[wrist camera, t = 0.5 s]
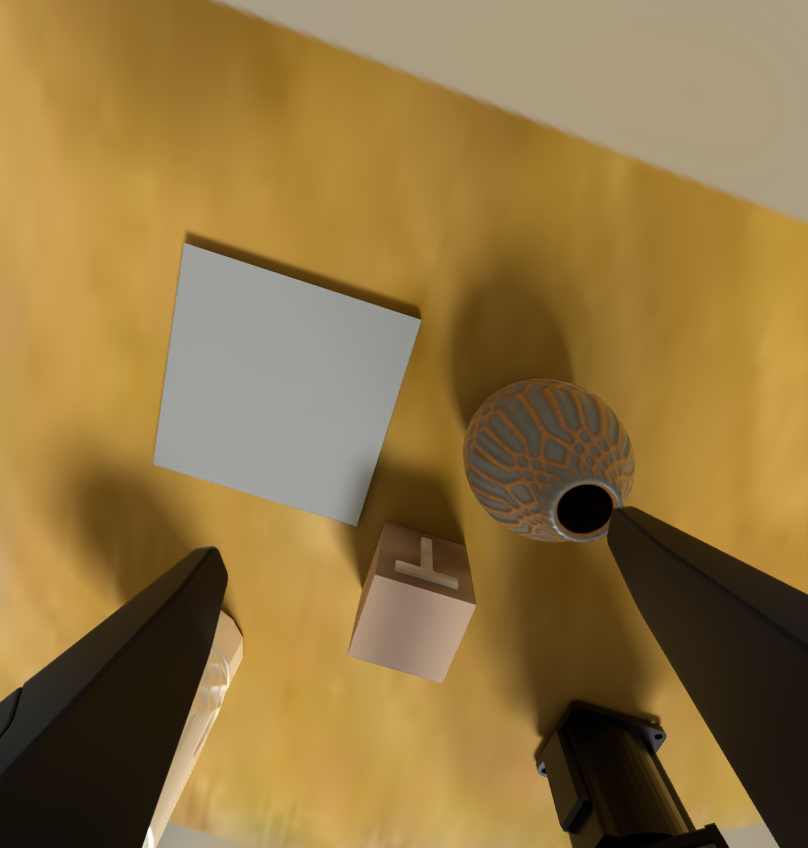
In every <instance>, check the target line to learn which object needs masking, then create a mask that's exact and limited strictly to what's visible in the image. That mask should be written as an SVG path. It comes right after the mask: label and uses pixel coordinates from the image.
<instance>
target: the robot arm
mask: <svg viewBox="0 0 808 848" xmlns="http://www.w3.org/2000/svg"><path fill="white" fill-rule="evenodd" d="M607 541H608V545H609V548H610V550H611V552H612V554H613V556H614V558H615V560H616V563H617V565H618V567H619V569H620V571H621V573H622V576H623V578H624V580H625V582H626V584H627V586H628V588H629V591H630V593H631V595H632V597H633V599H634V601H635V603H636V605H637V607H638V609H639V611H640V613H641V614H642V616H643V618H644V620H645V622H646V623H647V625H648V627H649V628H650V630H651V632H652V633H653V635H654V637H655V638H656V640H657V642H658V643H659V645H660V647H661V648H662V650H663V652H664V654H665V655H666V657H667V659H668V660H669V662H670V664H671V665H672V667H673V669H674V670H675V672H676V674H677V675H678V677H679V679H680V681H681V682H682V684H683V686H684V687H685V689H686V691H687V692H688V694H689V696H690V697H691V699H692V701H693V702H694V704H695V706H696V708H697V709H698V711H699V713H700V714H701V716H702V718H703V719H704V721H705V723H706V724H707V726H708V728H709V729H710V731H711V733H712V734H713V736H714V738H715V740H716V741H717V743H718V745H719V746H720V748H721V750H722V751H723V753H724V755H725V756H726V758H727V760H728V761H729V763H730V765H731V767H732V768H733V770H734V772H735V773H736V775H737V777H738V778H739V780H740V782H741V783H742V785H743V787H744V788H745V790H746V792H747V794H748V795H749V797H750V799H751V800H752V802H753V804H754V805H755V807H756V809H757V810H758V812H759V814H760V815H761V817H762V819H763V820H764V822H765V824H766V826H767V827H768V828H769V830H770V832H771V834H772V836H773V837H774V839H775V841H776V842H777V844H778V846H779V847H780V848H808V594H806V593H804V592H802V591H800V590H798V589H796V588H794V587H792V586H790V585H788V584H786V583H784V582H782V581H780V580H778V579H776V578H774V577H772V576H770V575H768V574H766V573H764V572H762V571H760V570H758V569H756V568H754V567H752V566H750V565H748V564H746V563H744V562H742V561H740V560H739V559H737V558H735V557H733V556H731V555H729V554H727V553H725V552H723V551H721V550H719V549H717V548H715V547H713V546H711V545H709V544H707V543H705V542H703V541H701V540H699V539H697V538H695V537H693V536H691V535H689V534H687V533H685V532H683V531H681V530H679V529H677V528H675V527H673V526H671V525H669V524H667V523H665V522H663V521H661V520H659V519H657V518H655V517H653V516H651V515H649V514H647V513H645V512H643V511H641V510H639V509H637V508H635V507H632V506H627V507H617V508H614V509H613V511H612V513H611V517H610V522H609V528H608V533H607ZM227 582H228V574H227V570H226V568H225V565H224V562H223V560H222V557H221V555H220V552H219V550H218V549H217V548H216V547H214V546H211V547H200V548H197V549H195V550H193V551H192V552H191V553H190V554H188V555H187V556H186V557H184V558H183V559H182V560H181V561H179V562H178V563H177V564H176V565H174V566H173V567H172V568H170V569H169V570H168V571H167V572H165V573H164V574H163V575H162V576H160V577H159V578H158V579H156V580H155V581H154V582H153V583H151V584H150V585H149V586H148V587H146V588H145V589H144V590H142V591H141V592H140V593H139V594H137V595H136V596H135V597H133V598H132V599H131V600H130V601H128V602H127V603H126V604H125V605H123V606H122V607H121V608H119V609H118V610H117V611H116V612H114V613H113V614H112V615H111V616H109V617H108V618H107V619H105V620H104V621H103V622H102V623H100V624H99V625H98V626H97V627H95V628H94V629H93V630H91V631H90V632H89V633H88V634H86V635H85V636H84V637H83V638H81V639H80V640H79V641H77V642H76V643H75V644H74V645H72V646H71V647H70V648H69V649H67V650H66V651H65V652H63V653H62V654H61V655H60V656H58V657H57V658H56V659H55V660H53V661H52V662H51V663H49V664H48V665H47V666H46V667H44V668H43V669H42V670H40V671H39V672H38V673H37V674H35V675H34V676H33V677H32V678H30V679H29V680H28V681H26V682H25V683H24V685H23V687H19V688H17V689H16V690H15V691H14V692H12V693H11V694H10V695H9V696H7V697H6V698H5V699H3V700H2V701H1V702H0V848H142V847H143V844H144V841H145V838H146V835H147V832H148V829H149V827H150V824H151V821H152V818H153V815H154V812H155V810H156V807H157V804H158V801H159V798H160V795H161V792H162V790H163V787H164V784H165V781H166V778H167V775H168V772H169V770H170V767H171V764H172V761H173V758H174V755H175V752H176V750H177V747H178V744H179V741H180V738H181V735H182V732H183V730H184V727H185V724H186V721H187V718H188V715H189V712H190V710H191V707H192V704H193V701H194V698H195V695H196V693H197V690H198V687H199V684H200V681H201V678H202V675H203V673H204V670H205V667H206V664H207V661H208V658H209V655H210V652H211V648H212V645H213V641H214V637H215V633H216V629H217V624H218V620H219V616H220V612H221V608H222V603H223V599H224V595H225V591H226V587H227ZM665 739H666V733H665V732H664V730H663V728H662V727H661V726H659V725H657V724H653V723H650V722H646V721H643V720H640V719H636V718H633V717H630V716H626V715H623V714H619V713H616V712H613V711H609V710H606V709H603V708H599V707H596V706H592V705H589V704H586V703H582V702H578V701H576V702H572V703H571V704H570V705H569V707H568V708H567V710H566V712H565V714H564V715H563V717H562V719H561V721H560V722H559V724H558V726H557V728H556V729H555V731H554V733H553V735H552V736H551V738H550V740H549V742H548V743H547V745H546V747H545V749H544V750H543V752H542V754H541V756H540V757H539V759H538V761H537V763H536V767H537V771H538V773H539V774H540V775H541V776H544V777H547V778H548V781H549V785H550V789H551V793H552V796H553V800H554V804H555V808H556V811H557V815H558V819H559V823H560V826H561V828H562V830H563V831H564V832H567V833H569V837H570V841H571V844H572V848H729V846H728V845H727V843H726V841H725V840H724V838H723V836H722V835H721V833H720V831H719V830H718V828H717V826H716V825H715V823H711V824H707V825H704V826H705V828H702V829H698V830H696V829H695V827H694V825H693V823H692V821H691V819H690V817H689V815H688V813H687V811H686V810H685V808H684V806H683V804H682V802H681V800H680V798H679V796H678V794H677V792H676V791H675V789H674V787H673V785H672V783H671V781H670V779H669V777H668V775H667V774H666V772H665V770H664V768H663V766H662V764H661V762H660V760H659V758H658V756H657V755H656V752H657V751H658V749H659V748H660V746H661V745H662V743H663V742H664V741H665Z"/></svg>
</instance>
